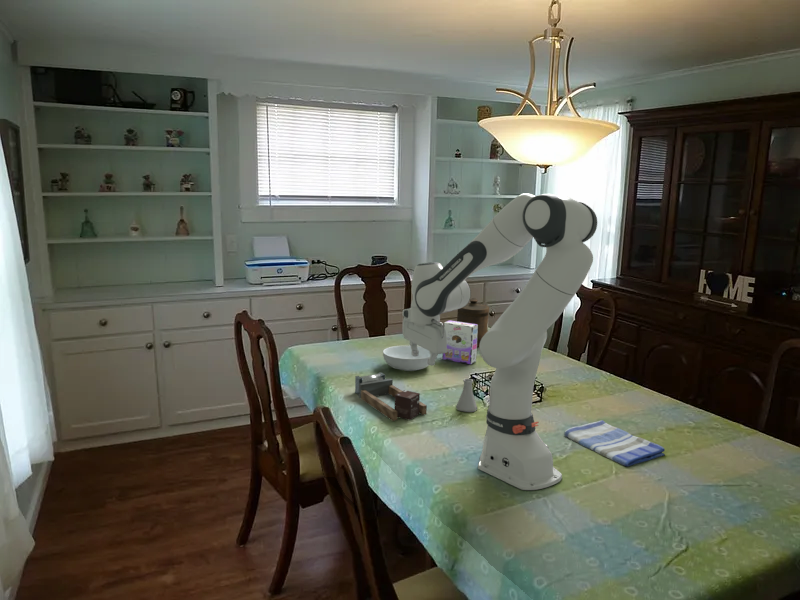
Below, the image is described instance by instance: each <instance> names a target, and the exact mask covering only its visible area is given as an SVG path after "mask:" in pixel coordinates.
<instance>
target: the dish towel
mask: <svg viewBox="0 0 800 600" xmlns="http://www.w3.org/2000/svg"><path fill="white" fill-rule="evenodd" d="M563 435H564V437H567V438H568V439H570V440H571V441H573V442H576V443H578V444H579V445H580V446H582V447H585V448H587V449H588V450H591V451H593V452H595V453H597V454H599V455H601V456H603V457H605V458H607V459H610V460H612V461H613V462H616V463H618V464H620V465H622V466H625V467H630V466H634V465H637V464H641V463H644V462H647V461H648V462H649V461H650V460H653V459H656V458H659V457H662V456H665V455H666V454H665V453H664V452H665V448H664V446H661V444H657V443H655V442H652V441H649V440H647V439H645V438H643V437H639V436H635V435H633V434H631V433H630V432H628V431H626V430H623V429H621V428H619V427H616V426H613V425H611V424H608V423H607V422H605V420H598V421H594V422H590V423H585V424H582V425H578V426H572V427H569V428H567V429H566V430H565V431H563Z"/></svg>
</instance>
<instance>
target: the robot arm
mask: <svg viewBox="0 0 800 600" xmlns="http://www.w3.org/2000/svg"><path fill="white" fill-rule="evenodd" d="M597 217H598V216H597V214H596V213H595V211H594V210H593V209H592V208H591V207H590V206H589V205H587V204H586V203H584V202H581V201H578V200H575V199H573V198H571V197H568V196H564V195H557V194H553V193H541V194H538V195H534V194H531V193H521V194H519V195H517V196H516V197H515V198H513V199H512V200H510V202H508V203H507V204H505V206H504V207H502V208H501V210H500V211H498V212H497V214H496V215H494V216H493V218H492V219H491V220H490V221H489V222H488V223H487V224H486V225H485V227H484V228H483V229H482V230H481V231H480V232H479V233H478V234H477V235H476V236H475V237H474V238H473V239H472V240H471V241H470V242H469V243H468V244H467V245H466V246H464V248H463V249H461V251H459V252H458V253H457V254H456V255H455V256H454V257H453V258H452V259H451V260H450V261H449V262H448V263H446V264H445V265H444V267H443V265H442V263H441V262H437V261H433V262H424V263H419V264H417V265H416V266H414V270H413V274H412V279H411V294H412V300H411V304H410V307H409V308H405V309H402V312H401V313H402V314H401V315H402V317H403V319H402V336H403V339H405V340H407V341H409V346H410V347H411V350H412V353H411V354H412V356H415V357H416V356H418V355H419V350H418V349H417V346H418V347H423V348H425V349H427V350H429V351H430V358H428V362H427V363H428V364H429V366H435V364H436V359H437V357H438V356H439V355H441V354H442V355H443V353H445V352H446V350H447V336H446V330H445V328H444V326H443V322H441V314H446V313H449V312H452V311H457V310H458V309H460V308H462V307H464V306H466V305H467V304H468V303H469V302H470V299H471V297H472V295H471V294H472V290H471V287H470V285H469V283H468V281H467V279H468V278H469V277H470V276H471V275H473V274H474V273H476V272H478V271H480V270H482V269H484V268H488V267H490V266H495V265H499V264H501V263H505V262H506V261H508V260H510V259H511V258H512V257H514V256H516V255H517V254H518V253H519V252H521V251H522V250H523V249H524V247H525V246H526V245H528V243H530V241H531V240H532V239H534V240H535V243H536V244H537V245H538V246H539V247H541V248H545V249H546V251H545V255H544V257H543V258H542V260H541V262H540V263H539V265H538V266H537V268H536V269H535V270H534V272H533V274H532V275H531V276H530V278H529V280H527V283H526V284H525V286H524V287H523V288H522V290H521V291H520V292H519V294H518V295H517V296H516V298H514V300H513V302H511V303H510V304H509V306H508V307H506V309H505V310H504V311H503V313H502V314H501V315H500V316H499V318H497V320H496V321H495V322H494V323H493V325H492V326H491V327H490V328H488V332H487V333H486V334H485V335H484V336H483V337H482V339H481V341H480V346H479V347H478V348H479V349H478V350H479V354H480V356H481V358H482V360H483V361H484V362H485V363H486V364H487V365H488V366H489V367H491V368H493V369H495V371H494V374H493V376H491V380H490V386H489V387H490V388H489V404H488V408H487V411H486V416H485V417H486V425H487V427H486V431H485V433H484V437H483V442H482V450H481V454H480V456H479V462H478V464H477V468H478V470H480V471H482V472H484V473H486V474H488V475H491V476H492V477H494V478H497V479H499V480H501V481H503V482H504V483H507V484H509V485H511V486H512V487H515V488H516V489H519V490H522V491H535V490H536V491H537V490H541V489H545V488H548V487H552V486H553V485H556V484H558V483H560V482H561V481H562V479H563V474H562V473H561V472H560V471H559V470H558V469H556V468H555V467H554V458H553V453H552V452H551V450H550V448H549V445H548V444H546V443H545V442H544V440H542V438H541V437H540V435H539V433H538V432H537V431H536V427H538V426H539V425H538V424H539V421H535V419H534V415H533V411H532V410H533V409H532V407H533V396H534V385H535V381H536V377H537V373H538V368H539V367H540V366H539V365H540V361H541V356H542V353H543V348H544V347H545V344H546V341H547V338H548V332H547V330H549V328H550V327H551V326H552V325H553V324H554V323H555V322H557V320H558V319H559V318H560V316H561V315H562V313H563V312H564V310H565V309H566V308H567V306H568V305H569V304H570V302H571V301H572V300H573V298H574V296H575V295H576V293H577V292H578V291H579V290H580V288H581V286H582V284H583V283H584V281H585V279H586V277H587V276H588V273H589V272H590V270H591V267H592V265H593V262H594V255H593V253H592V251H591V249H590V248H589V246H588V245H587V244H585V242H588V241H589V240H590V239H591V238H592V237H593V236H594V234H595V233H596V230H597V228H598V218H597Z"/></svg>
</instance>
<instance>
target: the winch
mask: <svg viewBox="0 0 800 600" xmlns="http://www.w3.org/2000/svg"><path fill="white" fill-rule="evenodd" d="M384 379H386V374H385V373H383V372H382V371H381V372H378V373H375V374H370V375H369V374H368V375H362V376H359V375H356V376H355V378H354V380H355V382H354V383H355V386H354V387H355V388H354V389H355V390H354V392H355V394H357V395H358V396H359V384H360V383H366V382H372V381H378V380H384Z"/></svg>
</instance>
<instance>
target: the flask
mask: <svg viewBox="0 0 800 600" xmlns="http://www.w3.org/2000/svg"><path fill="white" fill-rule="evenodd" d="M462 381H463V387H462V391H461V393H460V397H459V398H458V400H457V403H456V406H455V408H456V409H457V411H460V412H464V413H472V412H474V413H475V412H476V411H477V410H478V405H477V402H476V399H475V396H474V392H473V383H474V380H473V379H472V378H463V380H462Z"/></svg>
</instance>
